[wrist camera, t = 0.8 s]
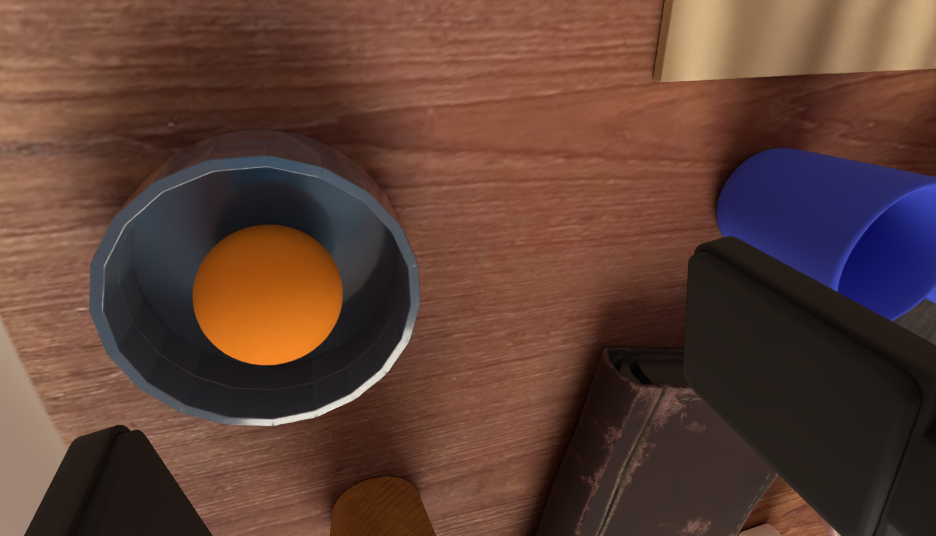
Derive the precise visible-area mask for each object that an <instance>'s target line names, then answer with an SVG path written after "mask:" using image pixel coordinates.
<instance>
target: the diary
mask: <svg viewBox="0 0 936 536" xmlns="http://www.w3.org/2000/svg"><path fill="white" fill-rule="evenodd" d="M683 360H684V349H646V348H630V350H629V349H627V348H604V350H603V353H602V356H601V358H600V361H599V364H598V367H597V370H596V372H595V375H594V378H593V381H592V384H591V387H590V390H589V393H588V396H587V398H586V401H585V404H584V407H583V410H582V413H581V416H580V419H579V422H578V425H577V427H576V430H575V432H574V435H573V437H572V439H571V442H570V444H569V447H568V449H567V451H566V454H565V456H564V459H563V461H562V464H561V466H560V468H559V471H558V473H557V476H556V478H555V481H554V483H553V485H552V488H551V491H550V494H549V497H548V500H547V503H546V506H545V509H544V512H543V515H542V518H541V521H540V524H539V527H538V530H537V533H536V536H737V535H738V534H739V532H740V530H741V529H742V527H743V525H744V523H745V522H746V520H747V518H748V517H749V515H750V513H751V512H752V510H753V508H754V507H755V506H756V504H757V503H758V502H759V500H760V499H761V498H762V496H763V495H764V494H765V492H766V491H767V490H768V488H769V487H770V486H771V484H772V483H773V482H774V480H775V479H776V478H777V476H778V475H779V474H778V473H777V472H775V471H774V470H773V469H772V468H771V467H770V466H769V465H768V464H767V463H766V462H765V461H764V460H763V459H762V458H761V457H760V456H759V455H758V454H757V453H756V452H755V451H754V450H753V449H752V448H751V447H750V446H749V445H748V444H747V443H746V442H745V441H744V440H743V439H742V438H741V437H740V436H739V435H738V434H737V433H736V432H735V431H734V430H733V429H732V428H731V427H730V426H729V425H728V424H727V423H726V422H725V421H724V420H723V419H722V418H721V417H720V416H719V415H718V414H717V413H716V412H715V411H714V410H713V409H712V408H711V407H710V406H708V405H707V404H706V403H705V402H704V401H703V400H702V399H701V398H700V397H699V396H698V395H697V394H696V393H695V392H694V391H693V390H692V389H691V387H690V386H689V385H688V383H687V381H686V379H685V377H684V373H683Z"/></svg>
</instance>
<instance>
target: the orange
mask: <svg viewBox="0 0 936 536" xmlns="http://www.w3.org/2000/svg"><path fill="white" fill-rule="evenodd" d="M342 300H343V288H342V280H341V277H340V273H339V270H338V268H337V266H336V263H335V262H334V260H333V258H332V257H331V255H330V254H329V253H328V251H327V250H326V249H325V248H324V247H323V246H322V245H321V244H320V243H319V242H318V241H316V240H315V239H314V238H312V237H311V236H309V235H307V234H305V233H303V232H301V231H299V230H297V229H294V228H291V227H287V226H282V225H267V224H266V225H256V226H252V227H247V228H245V229H242V230H239V231H236V232H234V233H232V234H230V235H228V236H227V237H225V238H224V239H222V240H221V241H220V242H219V243H218V244H217V245H215V246H214V247H213V248H212V249H211V250H210V251H209V253H208V254H207V255H206V256H205V258H204V260H203V261H202V263H201V265H200V267H199V269H198V271H197V274H196V277H195V281H194V286H193V306H194V312H195V315H196V318H197V321H198V323H199V325H200V327H201V329H202V331H203V332H204V334H205V335H206V337H207V338H208V339H209V340H210V341H211V342H212V343H213V344H214V345H215V346H216V347H217V348H218V349H219V350H221V351H222V352H224V353H225V354H227V355H229V356H231V357H233V358H235V359H237V360H240V361H243V362H246V363H250V364H257V365H276V364H282V363H286V362H290V361H293V360H295V359H298V358H300V357H302V356H304V355H306V354H308V353H309V352H311V351H312V350H314V349H315V348H316V347H317V346H319V345H320V344H321V343H322V342H323V341H324V340H325V339H326V338H327V336H328V335H329V334H330V332H331V331H332V329H333V327H334V326H335V324H336V322H337V320H338V317H339V314H340V311H341V306H342Z"/></svg>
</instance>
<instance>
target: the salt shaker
mask: <svg viewBox="0 0 936 536" xmlns="http://www.w3.org/2000/svg"><path fill="white" fill-rule="evenodd" d="M739 536H781V535H780V534H779V533H778V532H777V531H776V530H775V528H774V527H773V526H772V525H770V524H763V525H760V526H757V527H754V528H751V529H748V530H745V531H743V532H741V533H740V534H739Z"/></svg>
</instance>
